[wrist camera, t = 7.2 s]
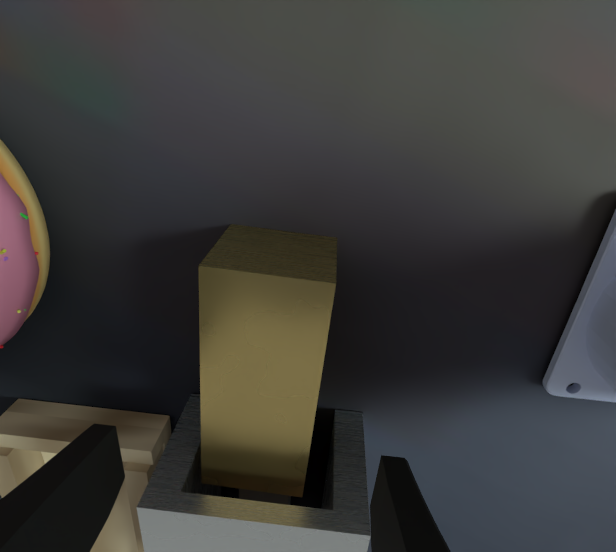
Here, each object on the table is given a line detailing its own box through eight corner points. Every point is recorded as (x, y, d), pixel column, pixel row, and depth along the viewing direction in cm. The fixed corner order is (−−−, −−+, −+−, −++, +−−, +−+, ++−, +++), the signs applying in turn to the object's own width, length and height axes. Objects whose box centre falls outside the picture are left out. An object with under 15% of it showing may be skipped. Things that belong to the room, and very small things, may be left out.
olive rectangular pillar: (232, 222, 14) (198, 265, 11) (337, 235, 14) (336, 283, 11) (227, 408, 18) (201, 483, 15) (309, 419, 18) (302, 497, 15)
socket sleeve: (362, 412, 17) (370, 535, 13) (343, 514, 20) (345, 644, 16) (191, 393, 18) (136, 507, 13) (198, 496, 21) (156, 619, 16)
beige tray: (169, 415, 18) (147, 459, 16) (187, 584, 24) (172, 632, 22) (18, 398, 19) (-24, 439, 16) (73, 570, 25) (47, 616, 23)
